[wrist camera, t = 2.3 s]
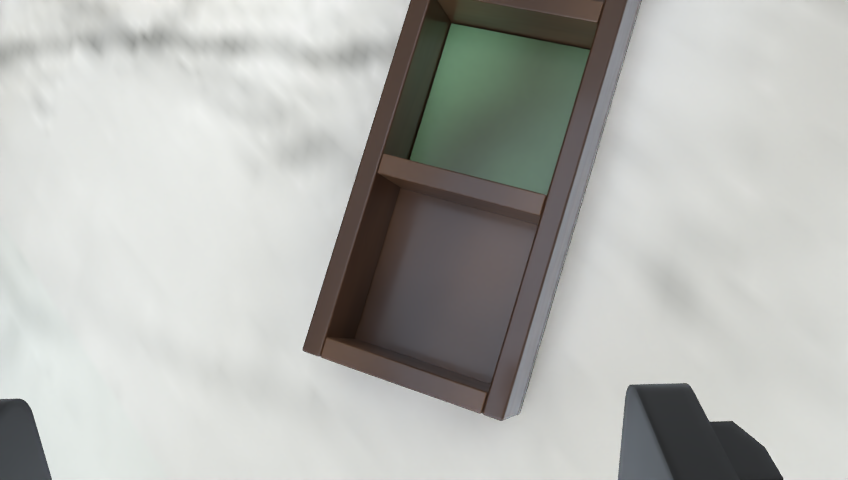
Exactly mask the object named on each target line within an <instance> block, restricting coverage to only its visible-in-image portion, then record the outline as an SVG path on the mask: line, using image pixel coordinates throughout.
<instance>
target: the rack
mask: <svg viewBox="0 0 848 480" xmlns="http://www.w3.org/2000/svg"><path fill="white" fill-rule="evenodd" d="M641 1H642V0H411V1H410V5H409V8H408V11H407V14H406V18H405V21H404V24H403V27H402V31H401V34H400V37H399V40H398V43H397V47H396V50H395V53H394V56H393V60H392V63H391V66H390V69H389V72H388V76H387V79H386V82H385V85H384V89H383V92H382V95H381V98H380V101H379V105H378V108H377V111H376V114H375V118H374V121H373V124H372V127H371V130H370V134H369V137H368V140H367V143H366V147H365V150H364V153H363V156H362V159H361V163H360V166H359V169H358V172H357V176H356V179H355V182H354V185H353V188H352V192H351V195H350V198H349V201H348V205H347V208H346V211H345V214H344V217H343V221H342V224H341V227H340V230H339V234H338V237H337V240H336V243H335V246H334V250H333V253H332V256H331V259H330V263H329V266H328V269H327V272H326V275H325V279H324V282H323V285H322V288H321V292H320V295H319V298H318V301H317V305H316V308H315V311H314V314H313V317H312V321H311V324H310V327H309V330H308V334H307V337H306V340H305V343H304V346H303V351H304V352H307V353H310V354H313V355H316V356H321V357H322V358H324V359H327V360H330V361H332V362H335V363H338V364H341V365H344V366H347V367H349V368H352V369H355V370H358V371H361V372H364V373H366V374H369V375H372V376H375V377H378V378H381V379H383V380H386V381H389V382H392V383H395V384H398V385H400V386H403V387H406V388H409V389H412V390H415V391H417V392H420V393H423V394H426V395H429V396H432V397H434V398H437V399H440V400H443V401H446V402H448V403H451V404H454V405H457V406H460V407H463V408H465V409H468V410H471V411H474V412H477V413H483V414H484V415H486V416H488V417H491V418H494V419H497V420H500V421H503V420H505V419H508V418H510V417H512V416H515V415H518V414H520V411H521V407H522V404H523V401H524V397H525V394H526V390H527V387H528V384H529V380H530V377H531V374H532V370H533V367H534V363H535V360H536V357H537V353H538V350H539V346H540V343H541V340H542V336H543V333H544V329H545V326H546V323H547V319H548V316H549V313H550V309H551V306H552V302H553V299H554V296H555V292H556V289H557V285H558V282H559V279H560V275H561V272H562V268H563V265H564V262H565V258H566V255H567V252H568V248H569V245H570V241H571V238H572V235H573V231H574V228H575V224H576V221H577V218H578V214H579V211H580V207H581V204H582V201H583V197H584V194H585V191H586V187H587V184H588V180H589V177H590V174H591V170H592V167H593V163H594V160H595V157H596V153H597V150H598V146H599V143H600V140H601V136H602V133H603V129H604V126H605V123H606V119H607V116H608V113H609V109H610V106H611V102H612V99H613V96H614V92H615V89H616V85H617V82H618V79H619V75H620V72H621V68H622V65H623V62H624V58H625V55H626V52H627V48H628V45H629V41H630V38H631V35H632V31H633V28H634V24H635V21H636V18H637V14H638V11H639V7H640V4H641Z"/></svg>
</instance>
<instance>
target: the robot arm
mask: <svg viewBox="0 0 848 480" xmlns="http://www.w3.org/2000/svg"><path fill="white" fill-rule="evenodd" d="M0 480H52V478H51V475H50V471H49V468H48V464H47V461H46V458H45V454H44V451H43V447H42V444H41V440H40V437H39V434H38V430H37V427H36V423H35V420H34V416H33V413H32V410H31V408H30V406H29V405H28V404H27V402H25V401H24V400H22V399H0ZM618 480H783V477H782V475H781V474H780V472H779V470H778V469H777V467H776V465H775V464H774V462H773V460H772V459H771V457H770V455H769V454H768V452H767V450H766V449H765V447H764V446H762V445H761V444H760V443H759V442H757V441H756V440H755V439H754V438H753V437H751V436H750V435H749V434H748V433H746V432H745V431H744V430H743V429H741V428H740V427H739V426H738V425H737V424H735V423H734V422H733V421H723V422H709V420H708V418H707V416H706V415H705V413H704V411H703V409H702V407H701V405H700V403H699V401H698V399H697V397H696V395H695V394H694V392H693V390H692V388H691V387H690V386H689V385H688V384H687V383H680V384H641V385H630V386H629V387H628V389H627V392H626V397H625V407H624V418H623V429H622V440H621V451H620V463H619V474H618Z"/></svg>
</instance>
